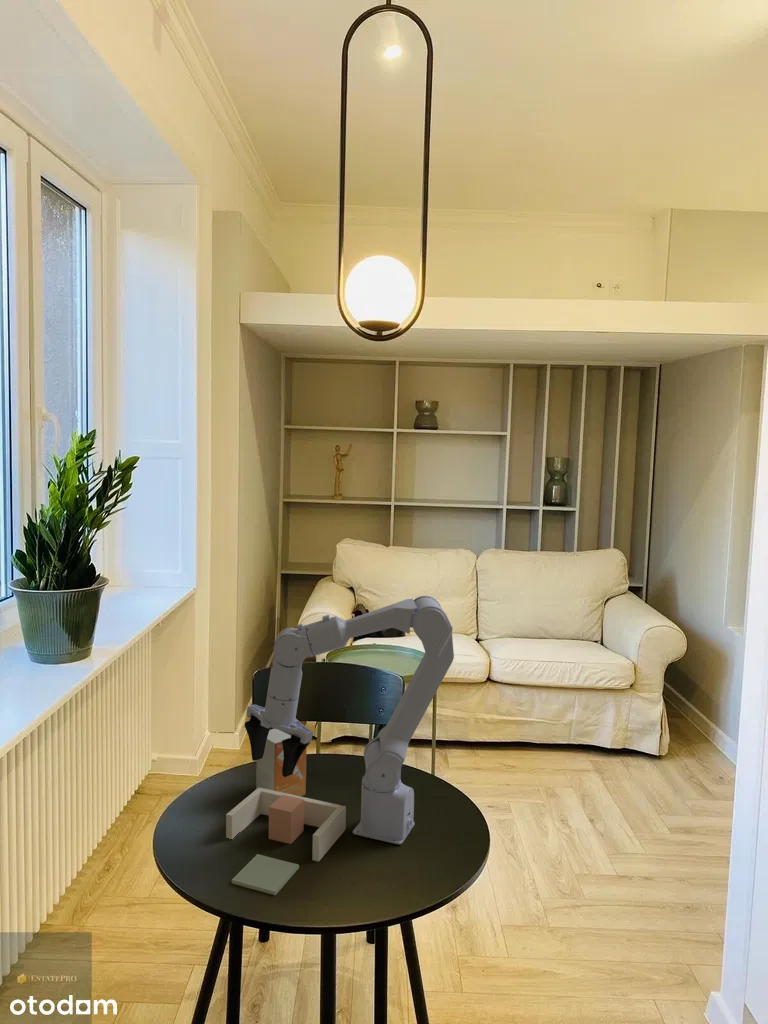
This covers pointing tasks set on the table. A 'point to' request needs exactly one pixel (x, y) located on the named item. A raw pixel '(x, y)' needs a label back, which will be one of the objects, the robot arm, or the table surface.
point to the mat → (265, 874)
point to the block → (286, 819)
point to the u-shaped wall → (315, 814)
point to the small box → (280, 767)
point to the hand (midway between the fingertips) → (272, 766)
